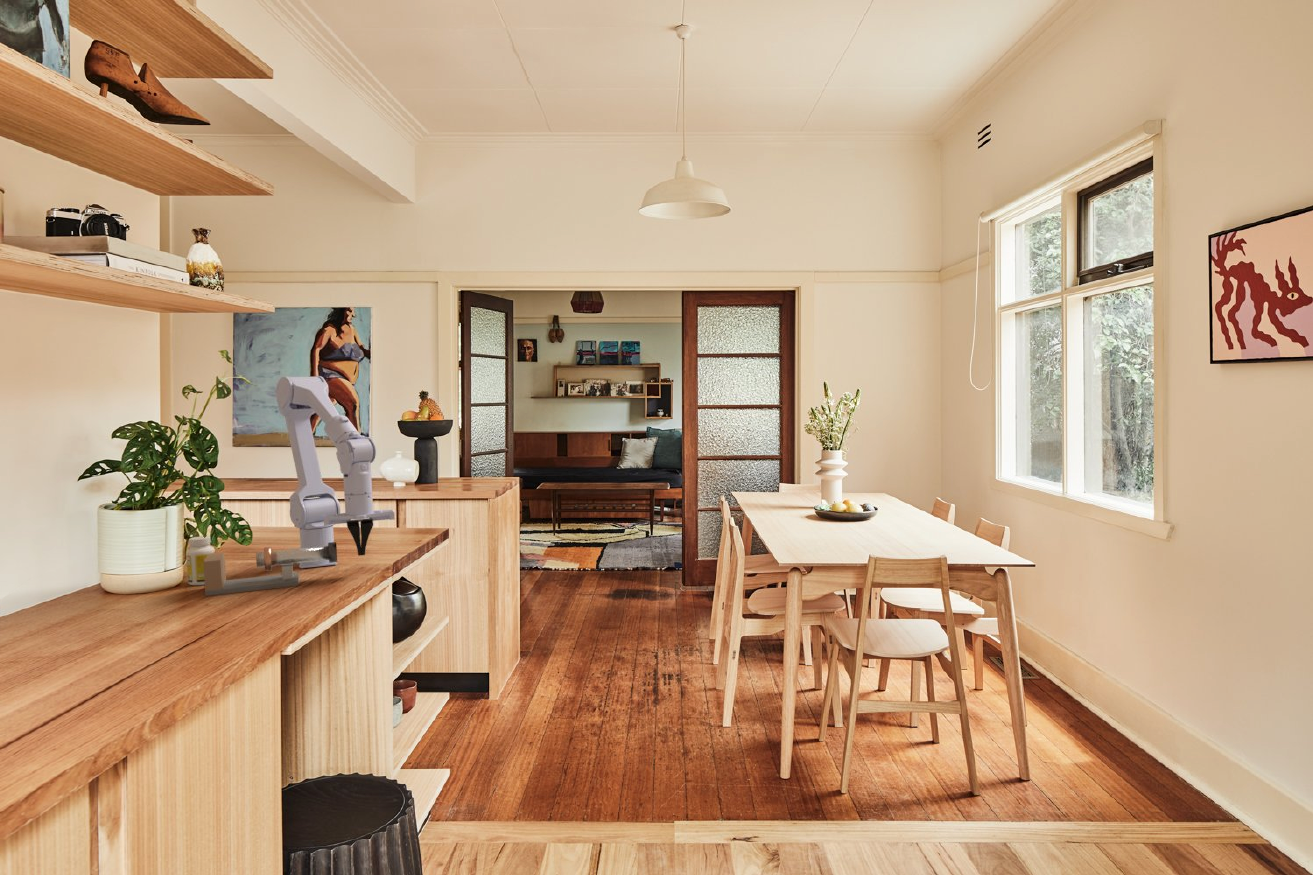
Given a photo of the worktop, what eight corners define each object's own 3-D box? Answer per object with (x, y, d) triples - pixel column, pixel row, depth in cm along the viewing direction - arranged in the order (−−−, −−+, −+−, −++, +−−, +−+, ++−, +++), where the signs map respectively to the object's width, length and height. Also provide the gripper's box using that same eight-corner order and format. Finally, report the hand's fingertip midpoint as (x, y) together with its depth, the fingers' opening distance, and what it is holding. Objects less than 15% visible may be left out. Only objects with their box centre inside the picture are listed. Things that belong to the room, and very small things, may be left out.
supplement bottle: (222, 579, 173) (219, 535, 172) (206, 586, 168) (203, 540, 167) (199, 579, 174) (196, 535, 173) (182, 585, 168) (179, 540, 168)
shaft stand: (210, 586, 167) (208, 554, 166) (298, 577, 174) (296, 545, 173) (205, 596, 160) (203, 561, 159) (298, 585, 166) (296, 552, 166)
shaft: (258, 569, 169) (256, 546, 169) (337, 560, 175) (335, 538, 175) (256, 574, 164) (255, 550, 164) (337, 565, 170) (336, 542, 170)
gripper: (322, 498, 167) (326, 561, 168) (394, 493, 173) (397, 554, 174) (322, 494, 174) (325, 555, 175) (391, 489, 179) (394, 548, 180)
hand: (361, 554), depth 175 cm, fingers closed
